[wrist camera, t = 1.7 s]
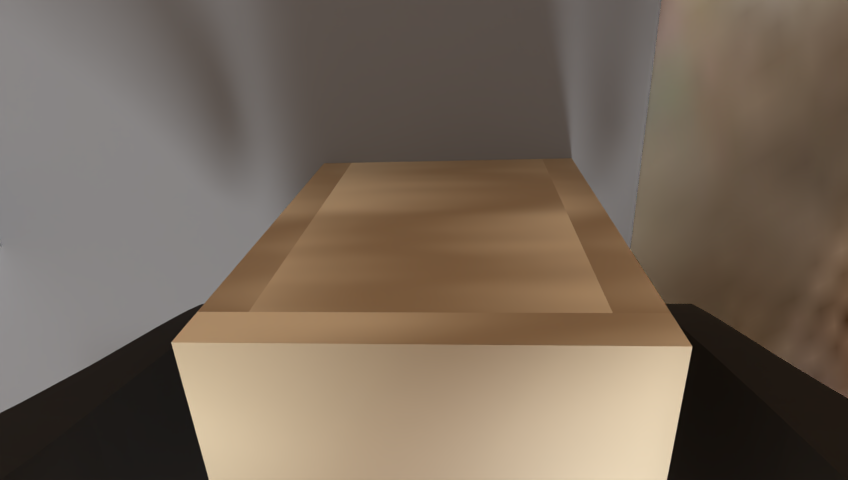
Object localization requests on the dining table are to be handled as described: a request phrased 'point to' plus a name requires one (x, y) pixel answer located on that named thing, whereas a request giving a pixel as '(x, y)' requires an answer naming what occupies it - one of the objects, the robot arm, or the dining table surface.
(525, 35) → the slate mat
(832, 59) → the dining table surface
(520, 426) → the wood block
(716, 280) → the dining table surface
